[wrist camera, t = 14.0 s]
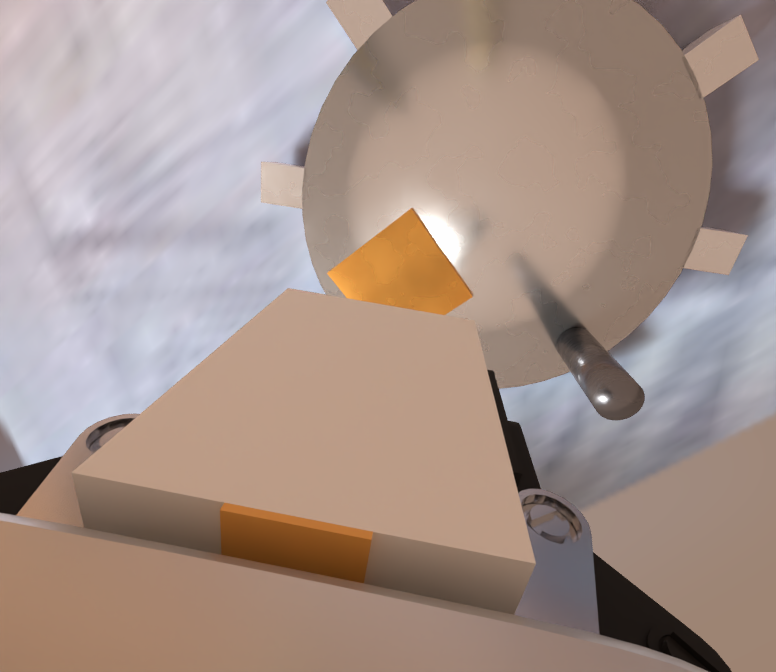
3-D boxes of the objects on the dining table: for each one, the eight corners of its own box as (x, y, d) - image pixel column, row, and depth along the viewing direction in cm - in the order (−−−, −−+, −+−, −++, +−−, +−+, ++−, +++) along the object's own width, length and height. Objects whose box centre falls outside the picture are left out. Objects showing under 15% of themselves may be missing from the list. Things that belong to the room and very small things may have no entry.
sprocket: (808, 262, 22) (999, 312, 14) (432, 458, 29) (432, 555, 22) (593, -247, 16) (736, -616, 8) (189, 168, 23) (75, 168, 16)
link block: (437, 468, 13) (440, 794, 6) (281, 438, 13) (122, 723, 6) (474, 320, 11) (538, 572, 4) (287, 288, 11) (63, 479, 4)
